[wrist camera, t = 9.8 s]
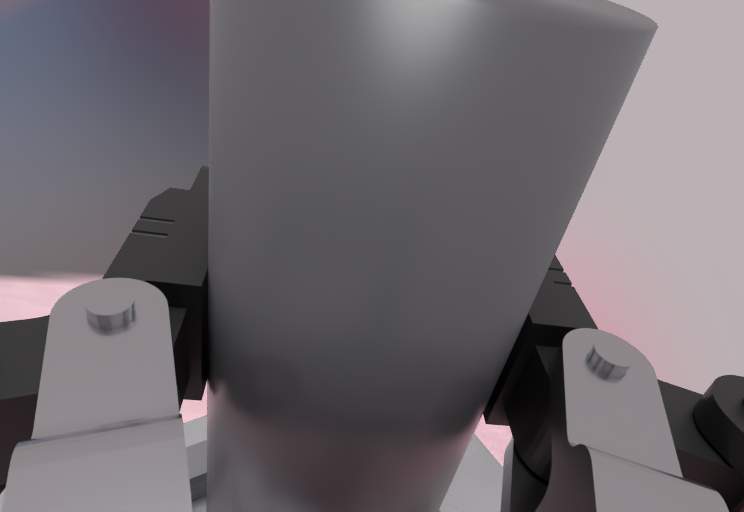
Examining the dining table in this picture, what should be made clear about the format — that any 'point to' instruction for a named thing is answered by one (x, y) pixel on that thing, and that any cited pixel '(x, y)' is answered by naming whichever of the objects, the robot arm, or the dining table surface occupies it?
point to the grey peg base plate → (459, 508)
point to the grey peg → (386, 228)
